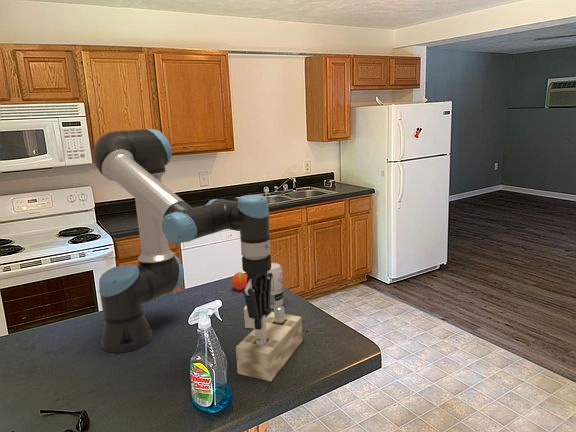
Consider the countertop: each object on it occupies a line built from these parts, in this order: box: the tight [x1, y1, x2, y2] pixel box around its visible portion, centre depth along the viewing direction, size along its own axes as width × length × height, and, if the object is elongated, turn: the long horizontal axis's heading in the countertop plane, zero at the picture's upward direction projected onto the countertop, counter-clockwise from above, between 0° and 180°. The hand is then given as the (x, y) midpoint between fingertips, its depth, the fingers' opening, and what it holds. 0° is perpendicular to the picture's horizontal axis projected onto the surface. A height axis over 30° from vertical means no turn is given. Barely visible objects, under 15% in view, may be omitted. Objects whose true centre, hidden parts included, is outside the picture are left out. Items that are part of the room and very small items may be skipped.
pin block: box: [235, 311, 303, 382], centre depth 123 cm, size 10×22×8 cm, turn 156°
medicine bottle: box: [243, 305, 271, 330], centre depth 142 cm, size 7×7×12 cm
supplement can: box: [268, 262, 285, 310], centre depth 156 cm, size 8×8×15 cm
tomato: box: [231, 272, 247, 291], centre depth 171 cm, size 8×7×7 cm
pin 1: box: [255, 338, 267, 346], centre depth 117 cm, size 3×3×8 cm
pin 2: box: [273, 305, 286, 325], centre depth 127 cm, size 3×3×8 cm
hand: (261, 337), depth 116 cm, fingers closed
